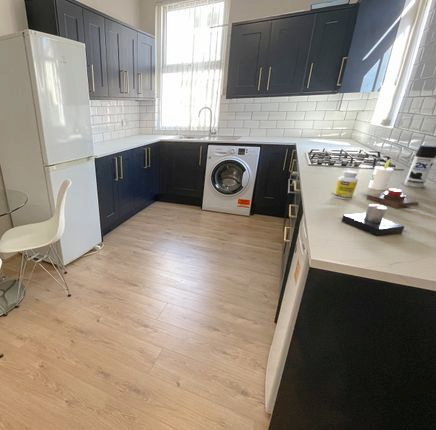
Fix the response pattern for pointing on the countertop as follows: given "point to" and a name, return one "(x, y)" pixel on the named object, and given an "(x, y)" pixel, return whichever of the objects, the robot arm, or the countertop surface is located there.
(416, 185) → the spray can
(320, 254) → the countertop surface
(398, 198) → the button housing
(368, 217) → the knob
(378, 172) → the candle
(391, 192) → the button
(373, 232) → the panel
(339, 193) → the pill bottle
